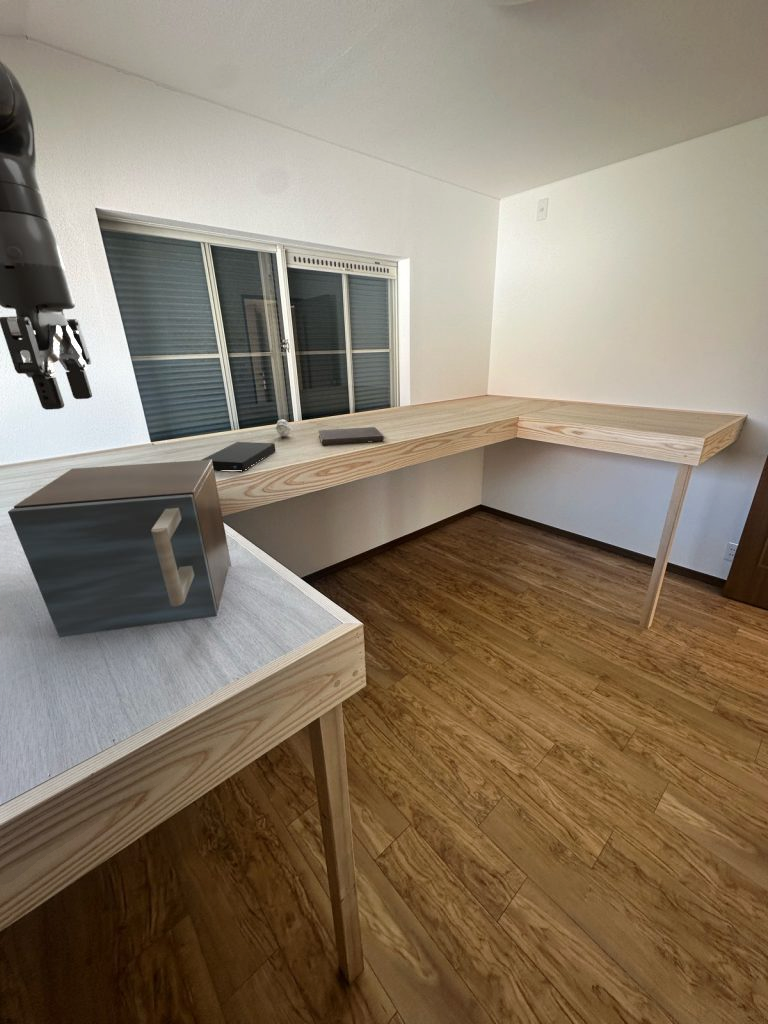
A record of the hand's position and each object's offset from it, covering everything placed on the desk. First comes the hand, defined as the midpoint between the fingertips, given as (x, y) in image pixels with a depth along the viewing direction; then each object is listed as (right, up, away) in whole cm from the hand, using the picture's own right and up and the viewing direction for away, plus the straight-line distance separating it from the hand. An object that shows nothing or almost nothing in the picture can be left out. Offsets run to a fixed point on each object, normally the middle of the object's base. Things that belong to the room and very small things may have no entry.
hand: (69, 403), depth 56 cm
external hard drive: (-5, +2, +80) cm, 80 cm away
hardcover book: (+29, +14, +105) cm, 110 cm away
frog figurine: (+3, +15, +109) cm, 111 cm away
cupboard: (+7, -28, +10) cm, 31 cm away
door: (+9, -33, -1) cm, 34 cm away
